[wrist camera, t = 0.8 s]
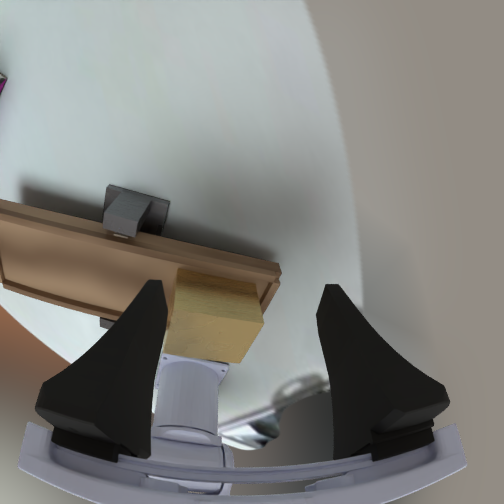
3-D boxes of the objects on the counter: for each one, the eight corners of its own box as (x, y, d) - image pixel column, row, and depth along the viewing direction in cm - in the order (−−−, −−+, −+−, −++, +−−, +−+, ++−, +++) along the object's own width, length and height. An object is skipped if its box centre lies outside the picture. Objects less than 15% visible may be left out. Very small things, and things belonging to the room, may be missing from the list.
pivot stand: (147, 307, 26) (138, 338, 23) (100, 292, 25) (87, 322, 22) (169, 201, 21) (156, 227, 17) (109, 184, 19) (86, 207, 16)
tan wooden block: (234, 325, 24) (239, 363, 21) (166, 313, 23) (162, 353, 19) (255, 283, 22) (264, 323, 19) (177, 268, 20) (174, 308, 17)
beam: (243, 328, 27) (246, 343, 25) (7, 274, 19) (-1, 287, 18) (279, 262, 23) (284, 277, 21) (-4, 196, 15) (-16, 207, 14)
